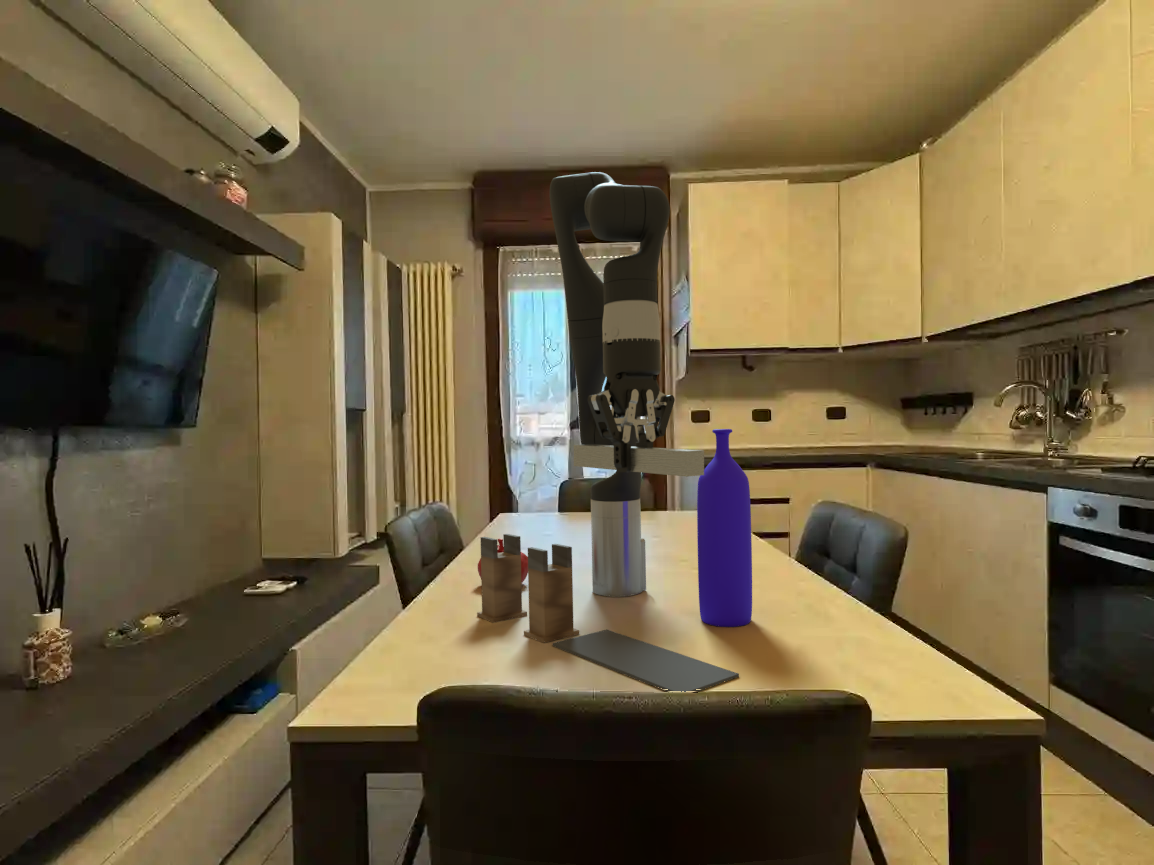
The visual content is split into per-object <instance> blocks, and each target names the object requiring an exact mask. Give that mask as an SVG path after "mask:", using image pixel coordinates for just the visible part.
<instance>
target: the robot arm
mask: <svg viewBox="0 0 1154 865" xmlns="http://www.w3.org/2000/svg"><path fill="white" fill-rule="evenodd" d="M549 204H550V209H551V210H550V212H551V216H552V217H551V218H552V222H553V227H554V233H555V237H556V243H557V249H558V252H559V259H560V264H561V271H562V278H563V287H564V297H565V307H566V316H567V324H568V325H567V326H568V331H569V339H570V345H571V350H572V357H573V361H574V362H573V363H574V370H575V380H576V390H577V406H578V410H577V411H578V424H579V425H578V426H579V427H578V428H579V429H578V430H579V438H580V439H579V440H580V445H587V444H593V445H613V446H614V465H615V468H616V470H615V472H614V473H613V474H612V475H611V476H609V477H607V478H605V479H601V480H599V481H596V482H594V483H593V484H591V486H590V519H591V520H590V521H591V522H590V524H591V527H590V528H591V532H590V533H591V571H592V572H591V576H592V577H591V578H592V579H591V582H592V593H594V594H596V595H598V596H603V597H604V596H605V597H628V596H629V597H631V596H635V595H638V594H641V593H642V592H643V591H646V590H647V569H646V568H647V567H646V566H647V565H646V562H647V560H646V559H647V558H646V554H647V553H646V540H645V538H643V537H642V516H641V513H642V512H641V509H642V508H641V487H642V484H641V483H642V472H632V471H631V446H632V447H651V448H654V441H655V440H656V439H658V438H661V437H665V434H666V432H667V431H666V430H667V428H668V424H669V421H670V418H671V414H672V411H673V408H674V404H675V401H676V400H675V396H674V395H673V394H669V395H668V394H667V395H666V394H665V393H664V392H662V391H660V385H659V383H658V380H657V379H658V376H659V374H660V373H661V369H662V368H661V367H662V366H661V365H662V364H661V359H662V358H661V322H660V319H661V318H660V314H659V313H660V312H659V306H658V269H659V263H660V256H661V251H662V246H663V242H664V238H665V235H666V231H667V228H668V223H669V219H670V213H671V210H670V209H671V208H670V201H669V198H668V197H667V195H666V193H665V192H664V191H663V189H661V188H659V187H658V186H653V185H652V186H651V185H629V184H620V183H616V181H615V180H614V179H613V178H612V177H611V176H610V175H608V174H607V173H604V172H601V171H599V172H596V171H594V172H593V171H592V172H585V173H576V174H569V175H568V174H566V175H562V176H560V175H559V176H557V177H553V178H552V180H551V182H550V185H549ZM586 230H587V231H588V230H590V231H591V232H592V235H593V236H594V237H595V238H596V239H598V240H601V241H606V242H607V241H609V242H633V243H634V242H638V243H639V249H638V251H637V252H635V253H633V254H630V255H626V256H621V257H620V256H619V257H617V258H613V259H610V260H609V261H607V262H606V264H605V266H604V268H603V274H602V275H603V276H602V277H603V280H602V279H601V278H600V277H599V276H598V274H597V273H596V272H595V271H594V270H593V268H592V267H591V266H590V264H589V262H588V261H587V259H586V258H585V257H584V255H583V253H582V251H581V249H580V247H579V246H580V245H579V244H578V241H577V239H576V234H575V232H579V231H586ZM603 386H604V387H603Z"/></svg>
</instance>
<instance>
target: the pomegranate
mask: <svg viewBox="0 0 1154 865" xmlns="http://www.w3.org/2000/svg"><path fill="white" fill-rule="evenodd" d="M497 543H498V544H497V547H498V553H501V552H504V538H497ZM477 572H478V575H479V576H478V577H480V578H481V557H480V558H479V560H478V563H477ZM527 576H528V555H526V554H525V553H524V552H523V551H521V584H523V583H524V581H525V580H526V578H528V577H527Z"/></svg>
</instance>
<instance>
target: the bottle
mask: <svg viewBox="0 0 1154 865" xmlns="http://www.w3.org/2000/svg"><path fill="white" fill-rule="evenodd" d="M711 432H712V433H713V434H714V435H715V441H716V442H715V446H716V447H715V453H714V456H713V458H712V459H711V461H710V462H709V463H708V464H707V466H705V467H704V475H700V476H699V477H698V480H697V492H696V493H697V497H696V500H697V501H696V504H697V505H696V506H697V507H696V508H697V509H696V511H697V512H696V513H697V514H696V515H697V516H696V520H697V521H696V526H697V528H696V529H697V530H696V533H697V534H696V535H697V538H696V539H697V573H698V574H697V576H698V577H697V579H698V604H699V616H700V619H701V621H702V622H703V623H704V624H706V625H711V626H713V627H714V626H715V627H723V628H734V627H735V628H737V627H743V626H747V625H748V624H750V622H751V621H752V614H753V559H752V558H753V555H752V554H753V550H752V548H753V547H752V546H753V545H752V513H751V512H752V511H751V508H752V507H751V492H750V491H751V490H750V482H749V478H748V476H747V474H746V472H745V471H744V470H743V469H742V468H741V466H740V465H739V464H738V463H737V461H736V460H734V458H733V457H732V454H731V452H730V434H731V433H733V429H730V428H720V429H719V428H715V429H712V431H711Z"/></svg>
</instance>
